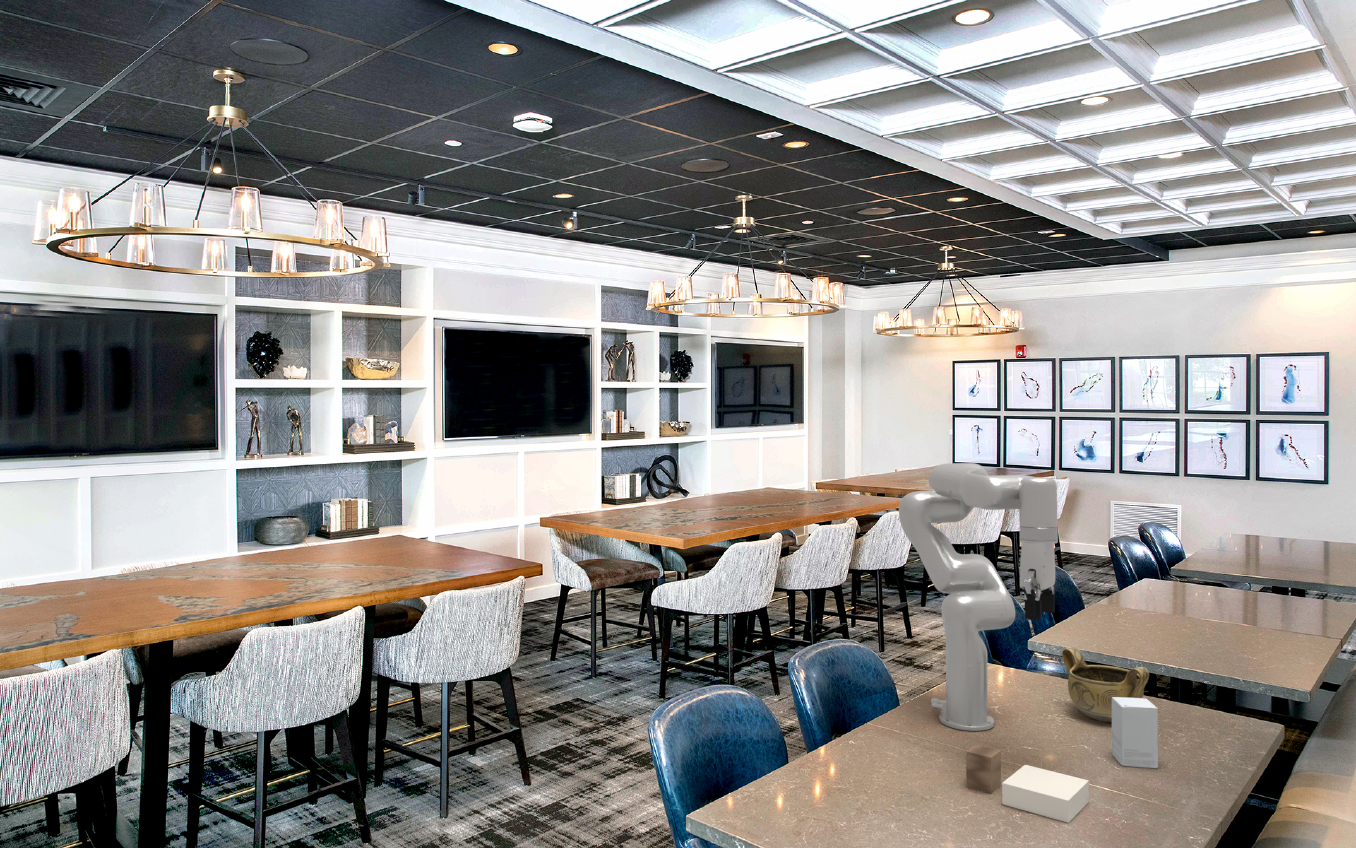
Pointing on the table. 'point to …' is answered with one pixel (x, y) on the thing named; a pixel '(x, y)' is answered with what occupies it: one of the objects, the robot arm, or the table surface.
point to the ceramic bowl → (1100, 684)
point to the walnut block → (983, 768)
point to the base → (1046, 793)
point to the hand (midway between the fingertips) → (1039, 615)
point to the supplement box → (1135, 732)
